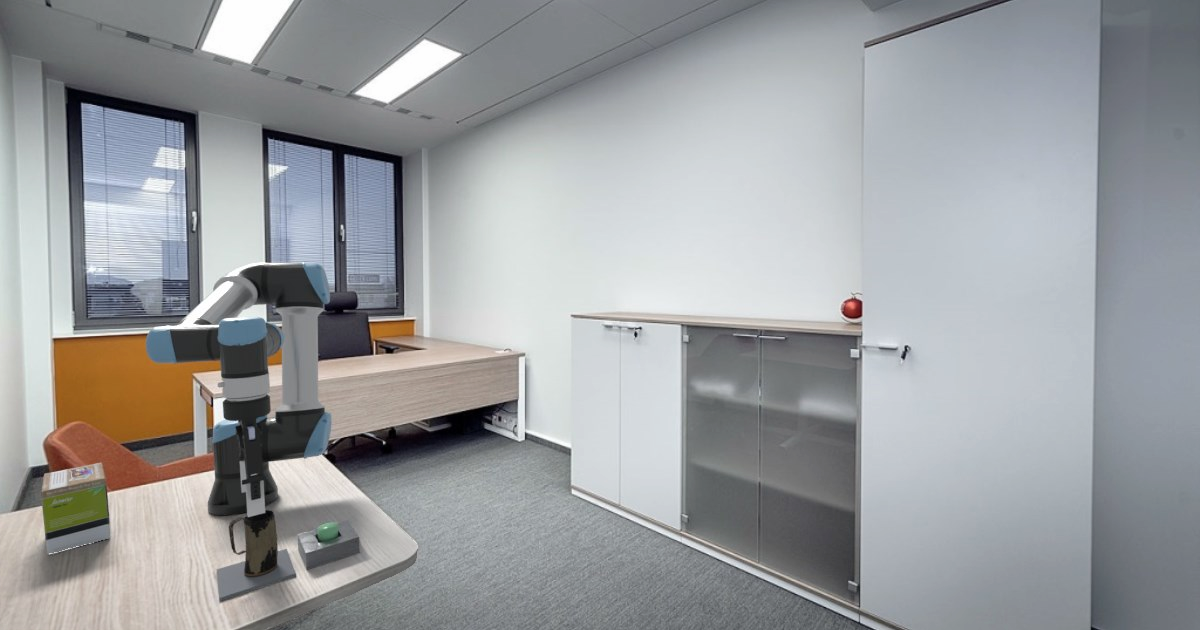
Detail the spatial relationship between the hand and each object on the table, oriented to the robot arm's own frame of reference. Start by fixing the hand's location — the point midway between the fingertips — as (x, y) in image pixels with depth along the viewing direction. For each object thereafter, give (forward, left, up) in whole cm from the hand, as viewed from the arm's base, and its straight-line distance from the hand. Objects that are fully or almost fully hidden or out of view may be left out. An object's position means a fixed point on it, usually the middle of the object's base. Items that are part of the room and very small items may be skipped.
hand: (252, 501), depth 98 cm
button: (0, +13, -12) cm, 18 cm away
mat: (0, 0, -15) cm, 15 cm away
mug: (+1, 0, -14) cm, 14 cm away
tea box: (-45, -30, -15) cm, 56 cm away
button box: (0, +13, -15) cm, 20 cm away
